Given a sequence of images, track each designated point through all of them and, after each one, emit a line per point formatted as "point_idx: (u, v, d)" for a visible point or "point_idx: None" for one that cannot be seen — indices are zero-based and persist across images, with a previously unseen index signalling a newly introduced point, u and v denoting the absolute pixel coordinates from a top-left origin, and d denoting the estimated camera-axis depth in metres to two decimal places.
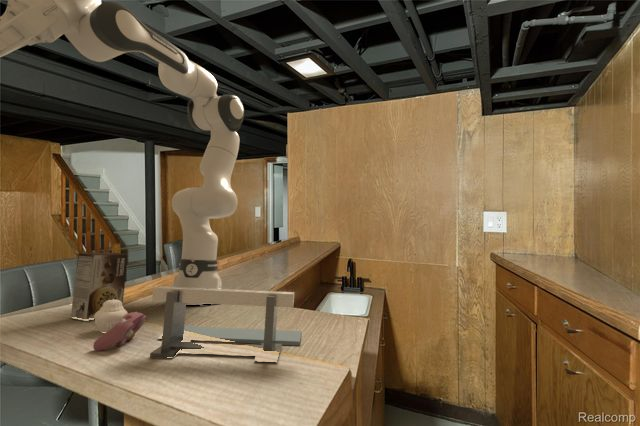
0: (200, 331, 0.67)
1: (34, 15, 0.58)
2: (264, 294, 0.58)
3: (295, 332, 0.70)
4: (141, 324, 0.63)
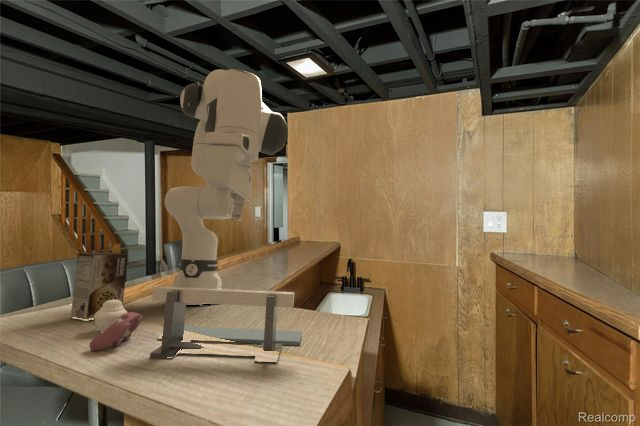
0: (200, 331, 0.67)
1: None
2: (264, 294, 0.58)
3: (295, 332, 0.70)
4: (138, 324, 0.63)
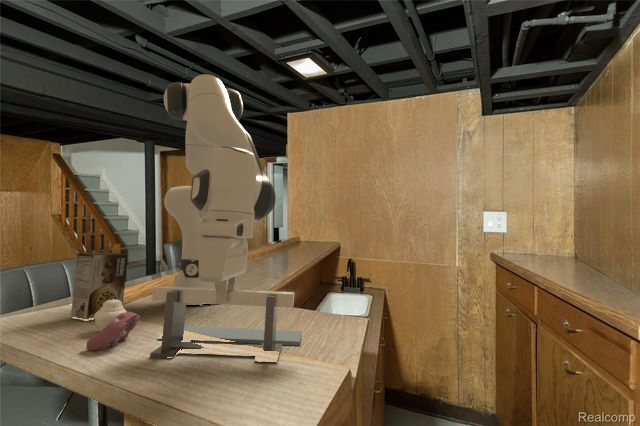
0: (200, 331, 0.67)
1: None
2: (264, 294, 0.58)
3: (295, 332, 0.70)
4: (135, 324, 0.63)
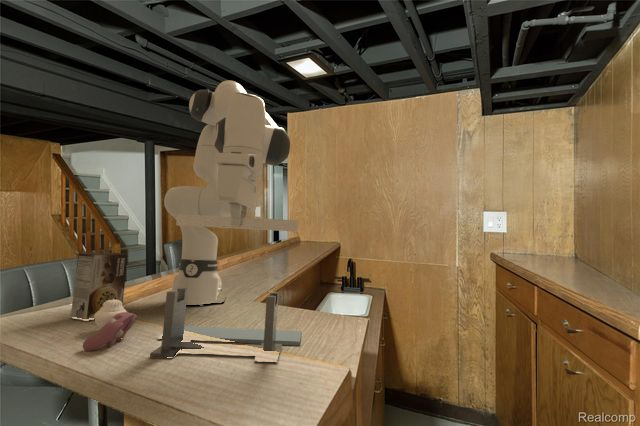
0: (200, 331, 0.67)
1: None
2: (272, 220, 0.67)
3: (295, 332, 0.70)
4: (132, 324, 0.63)
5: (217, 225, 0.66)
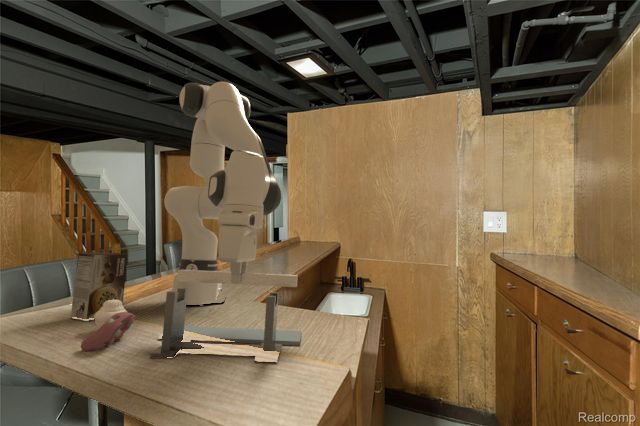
0: (200, 331, 0.67)
1: None
2: (272, 276, 0.67)
3: (295, 332, 0.70)
4: (130, 324, 0.63)
5: (217, 281, 0.67)
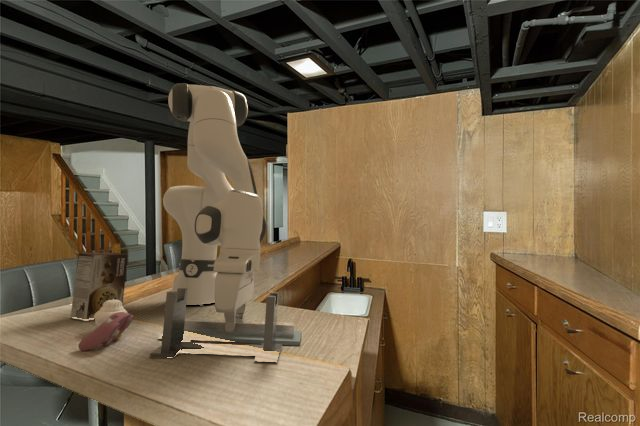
0: None
1: None
2: None
3: (295, 332, 0.70)
4: (128, 324, 0.63)
5: (213, 331, 0.66)
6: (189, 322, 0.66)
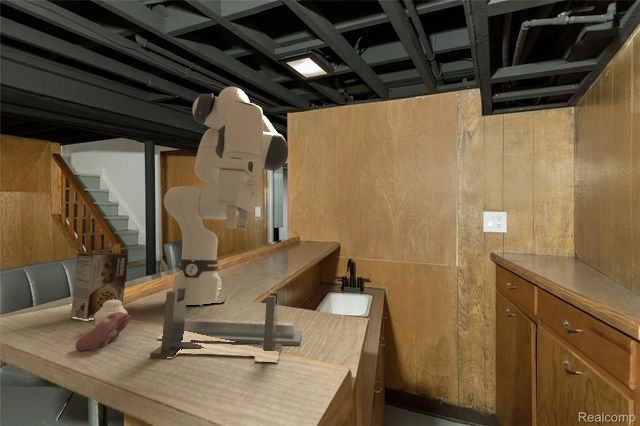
0: None
1: None
2: None
3: (295, 332, 0.70)
4: (125, 324, 0.63)
5: (213, 331, 0.66)
6: (189, 322, 0.66)
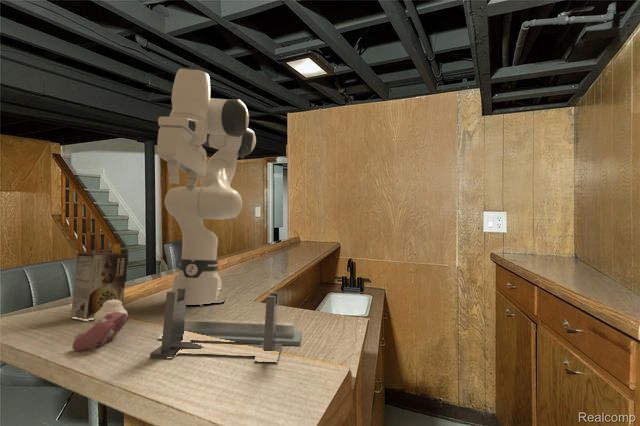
0: None
1: None
2: None
3: (295, 332, 0.70)
4: (123, 324, 0.63)
5: (213, 331, 0.66)
6: (189, 322, 0.66)
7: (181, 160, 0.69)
